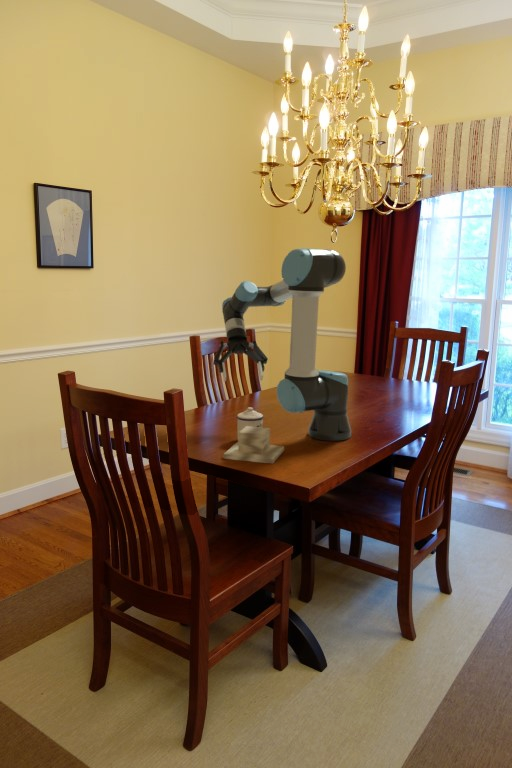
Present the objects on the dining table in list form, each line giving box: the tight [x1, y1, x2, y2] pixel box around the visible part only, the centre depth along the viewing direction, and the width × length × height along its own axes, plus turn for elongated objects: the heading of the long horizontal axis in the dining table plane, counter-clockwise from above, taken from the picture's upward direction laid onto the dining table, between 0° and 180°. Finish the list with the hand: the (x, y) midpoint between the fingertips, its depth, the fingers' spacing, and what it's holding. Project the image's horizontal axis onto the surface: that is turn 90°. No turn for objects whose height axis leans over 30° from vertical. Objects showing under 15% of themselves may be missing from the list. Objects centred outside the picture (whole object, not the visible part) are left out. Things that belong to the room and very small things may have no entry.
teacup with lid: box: [236, 406, 264, 442], centre depth 201 cm, size 12×9×12 cm
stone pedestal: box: [222, 426, 285, 465], centre depth 185 cm, size 16×14×8 cm
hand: (243, 378), depth 211 cm, fingers open, 13 cm apart
